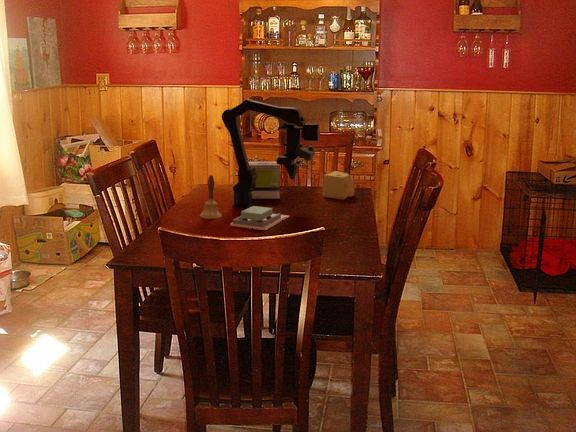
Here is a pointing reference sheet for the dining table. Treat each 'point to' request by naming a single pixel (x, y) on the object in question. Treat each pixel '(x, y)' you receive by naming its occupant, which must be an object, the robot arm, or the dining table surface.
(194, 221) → the dining table surface
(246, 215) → the sage green box
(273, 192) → the tea box
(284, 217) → the dock
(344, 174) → the cheese
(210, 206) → the hand bell
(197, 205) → the dining table surface
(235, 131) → the robot arm
